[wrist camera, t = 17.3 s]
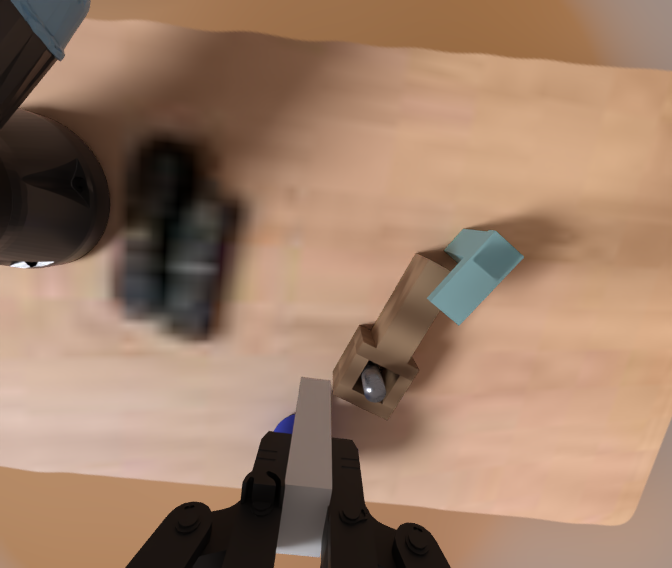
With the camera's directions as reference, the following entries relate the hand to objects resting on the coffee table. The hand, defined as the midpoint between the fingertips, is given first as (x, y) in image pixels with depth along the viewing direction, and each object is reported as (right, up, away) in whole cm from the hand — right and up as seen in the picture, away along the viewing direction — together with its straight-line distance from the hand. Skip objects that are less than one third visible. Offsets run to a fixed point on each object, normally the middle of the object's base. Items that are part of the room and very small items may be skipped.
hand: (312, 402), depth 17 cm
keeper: (+13, +8, +19) cm, 24 cm away
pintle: (+5, -2, +21) cm, 22 cm away
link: (+7, +2, +20) cm, 22 cm away
